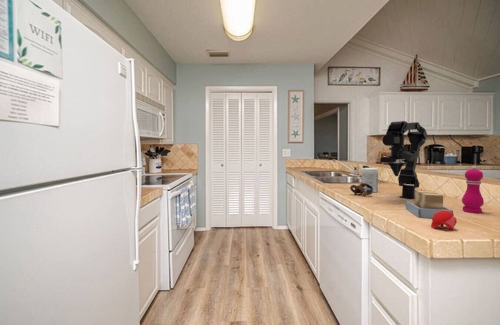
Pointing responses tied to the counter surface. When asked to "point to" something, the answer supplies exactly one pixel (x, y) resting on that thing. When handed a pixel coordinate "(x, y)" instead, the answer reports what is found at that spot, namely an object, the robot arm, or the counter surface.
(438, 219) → the cap
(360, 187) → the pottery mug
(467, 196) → the pepper mill
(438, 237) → the counter surface
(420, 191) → the oak block
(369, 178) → the supplement tub
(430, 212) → the box
